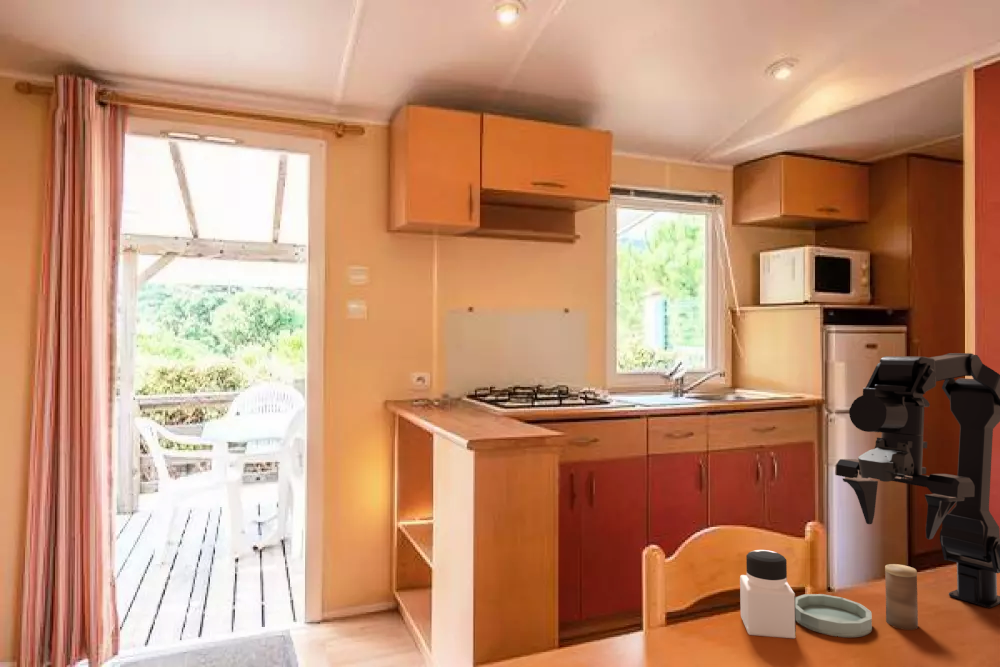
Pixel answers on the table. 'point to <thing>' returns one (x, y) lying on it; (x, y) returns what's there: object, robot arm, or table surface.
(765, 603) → the medicine bottle
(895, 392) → the robot arm
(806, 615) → the dish
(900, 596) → the spice jar
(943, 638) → the table surface
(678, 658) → the table surface
